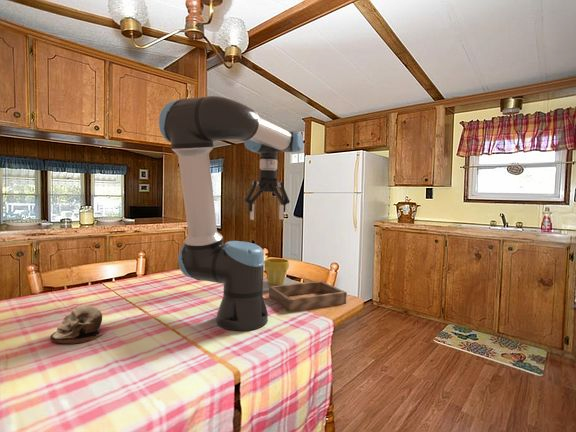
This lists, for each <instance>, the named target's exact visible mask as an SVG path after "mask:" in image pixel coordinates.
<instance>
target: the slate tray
mask: <svg viewBox="0 0 576 432" xmlns="http://www.w3.org/2000/svg"><path fill="white" fill-rule="evenodd" d="M289 284H298V282H296V280H293V279H291V278H290V277H287V276H285V279H284V283H283V284H281V285H289ZM271 286H280V285H271V284H269V283H268V280H267V278H263V294H269V287H271Z"/></svg>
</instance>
